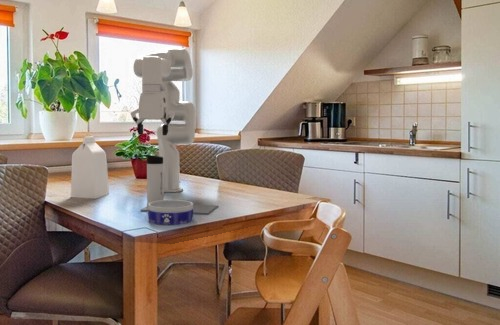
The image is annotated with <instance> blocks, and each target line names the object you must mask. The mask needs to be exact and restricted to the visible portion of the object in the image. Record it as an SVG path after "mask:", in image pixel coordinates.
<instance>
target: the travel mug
mask: <svg viewBox="0 0 500 325" xmlns="http://www.w3.org/2000/svg"><path fill="white" fill-rule="evenodd" d="M145 157H146V161H147V162H146V187H147V188H146V189H147V190H146V202H147V204H146V207H147V206H148V204H149V203H150V202H153V201H159V200H165V199H164V198H165V197H164V195H165V194H164V193H165V192H164V178H163V157H160V156H159V155H149V154H145Z"/></svg>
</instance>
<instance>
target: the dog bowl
mask: <svg viewBox="0 0 500 325" xmlns="http://www.w3.org/2000/svg"><path fill="white" fill-rule="evenodd" d="M193 204H194V202H192V201H189V200H186V199H185V200H184V199H183V200H181V199H164V200H159V201H153V202H150V203H149V204H148V211H147V213H148V214H147V215H148V217H147V218H148V222H149V223H150V224H152V225H159V226H178V225H179V226H180V225H186V224H189V223H191V222H193V220H194V214H193Z"/></svg>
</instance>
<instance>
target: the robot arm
mask: <svg viewBox="0 0 500 325" xmlns="http://www.w3.org/2000/svg"><path fill="white" fill-rule="evenodd" d="M133 72H134V75H135V76H136V78H137V77H138V78H141V79H142V80H141V86H142V87H141V92H142V93H140V94H139V103H138V108H137V109H134V110H133V111H131V112H130V116H131V118H132V120H133V122H135V124H136V125H137V126H136V129H137V133H138V134H137V135H138V136H142V135H144V124H143V122H144V121H145V120H148V121H149V120H154V121H155V120H157V121H158V120H160V121H161V122H162V123H163V124H160V125H158V127H157V129H156V136H157V143H158V144H157V145H158V156H160V157H163V178H164V193H179V192H180V193H181V192H182V191H183V190H184V187H182V186H180V185H181V180H180V179H181V178H180V176H181V175H180V174H181V173H180V168H181V167H180V164H181V163H180V151H179V150H178V148H177V147H176V146H175V145H191V144H193V143H194V141H195V136H196V135H195V134H196V109H195V105H194V103H193V102H191V101H185V100H184V101H182V100H180V97H181V96H180V94H181V93H180V89H179V88H178V87H177V85H175V83H174V82H189V81H191V80H192V78H193V65H192V62H191V56H190V53H189V52H188V50H187V49H186V48H184V47H182V48H181V47H178V48H177V47H165V48H161V49H159V50H158V51H157V52H153V53H152V52H151V53H149V54H147V53H146V54H143V55H139V56H138V57H136V58H135V60H134V63H133ZM137 114H138V117H137ZM171 122H178V123H171ZM179 122H182V123H179ZM183 122H184V123H183Z"/></svg>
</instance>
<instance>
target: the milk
mask: <svg viewBox="0 0 500 325" xmlns="http://www.w3.org/2000/svg"><path fill="white" fill-rule="evenodd" d="M107 160H108V159H107V153H106V151H105V150H104V149H103V148H102V147H101V146H100V144H98V143H96V138H95V136H92V135H91V136H84V137H83V141H82V143H81V144H80V145H79V147H77V149H75V150H74V151H73V152H72V155H71V175H70V176H71V182H70V183H71V184H70V185H71V186H70V188H71V189H70V197H71V198H80V199H81V198H82V199H98V198H101V197H105V196H107V195H109V194H110V188H109V187H110V186H109V175H108V163H107V162H108V161H107Z"/></svg>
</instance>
